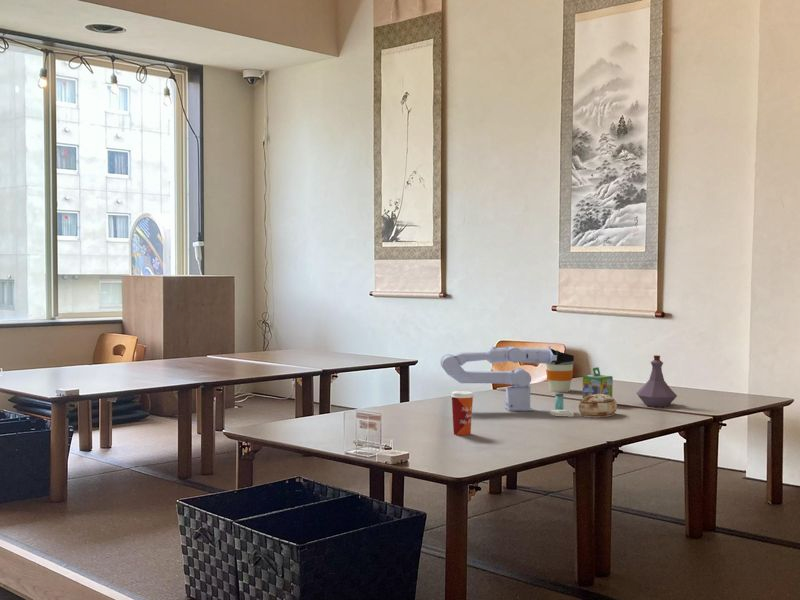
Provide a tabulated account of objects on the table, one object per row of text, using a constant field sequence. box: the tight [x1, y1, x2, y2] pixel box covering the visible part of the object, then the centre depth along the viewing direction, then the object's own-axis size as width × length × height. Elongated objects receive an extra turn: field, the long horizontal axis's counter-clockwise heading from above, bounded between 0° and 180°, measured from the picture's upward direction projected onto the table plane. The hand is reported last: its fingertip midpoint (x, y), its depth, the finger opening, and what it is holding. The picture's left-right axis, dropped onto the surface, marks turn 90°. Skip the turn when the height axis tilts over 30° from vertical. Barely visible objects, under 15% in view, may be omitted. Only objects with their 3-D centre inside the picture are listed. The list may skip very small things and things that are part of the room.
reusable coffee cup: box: [545, 361, 575, 393], centre depth 410 cm, size 13×13×15 cm
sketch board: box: [549, 409, 575, 417], centre depth 345 cm, size 7×8×1 cm
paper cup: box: [450, 390, 474, 436], centre depth 306 cm, size 8×8×14 cm
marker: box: [554, 392, 565, 410], centre depth 353 cm, size 3×3×7 cm
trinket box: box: [578, 394, 618, 419], centre depth 345 cm, size 13×15×8 cm
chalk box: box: [582, 366, 614, 399], centre depth 372 cm, size 9×9×15 cm
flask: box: [635, 354, 678, 407], centre depth 369 cm, size 16×16×20 cm
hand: (571, 357), depth 358 cm, fingers open, 7 cm apart
